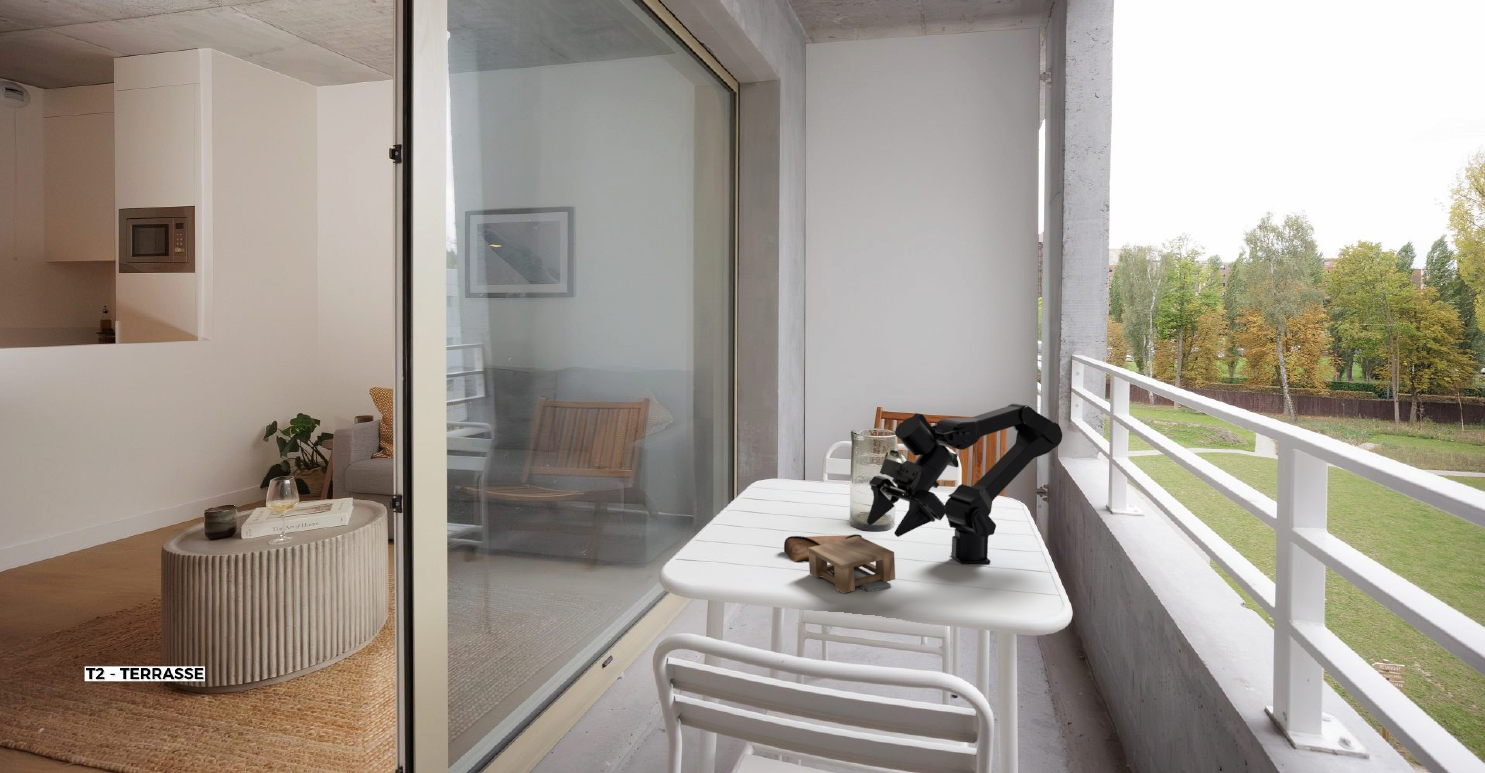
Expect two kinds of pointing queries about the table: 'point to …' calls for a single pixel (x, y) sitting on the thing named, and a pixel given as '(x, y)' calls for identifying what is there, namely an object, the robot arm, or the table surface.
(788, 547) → the sunglasses case
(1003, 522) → the table surface
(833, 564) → the wood grain block
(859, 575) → the strip
